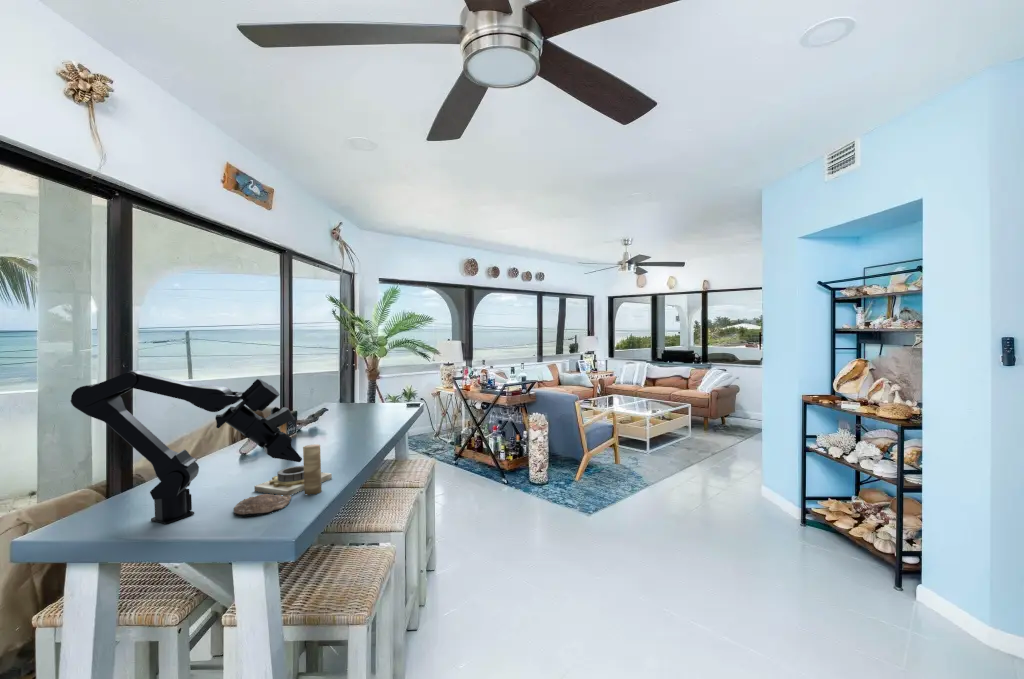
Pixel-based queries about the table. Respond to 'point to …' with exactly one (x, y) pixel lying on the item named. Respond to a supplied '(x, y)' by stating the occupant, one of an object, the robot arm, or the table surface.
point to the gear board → (286, 489)
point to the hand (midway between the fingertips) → (296, 457)
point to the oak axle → (312, 469)
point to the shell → (261, 505)
